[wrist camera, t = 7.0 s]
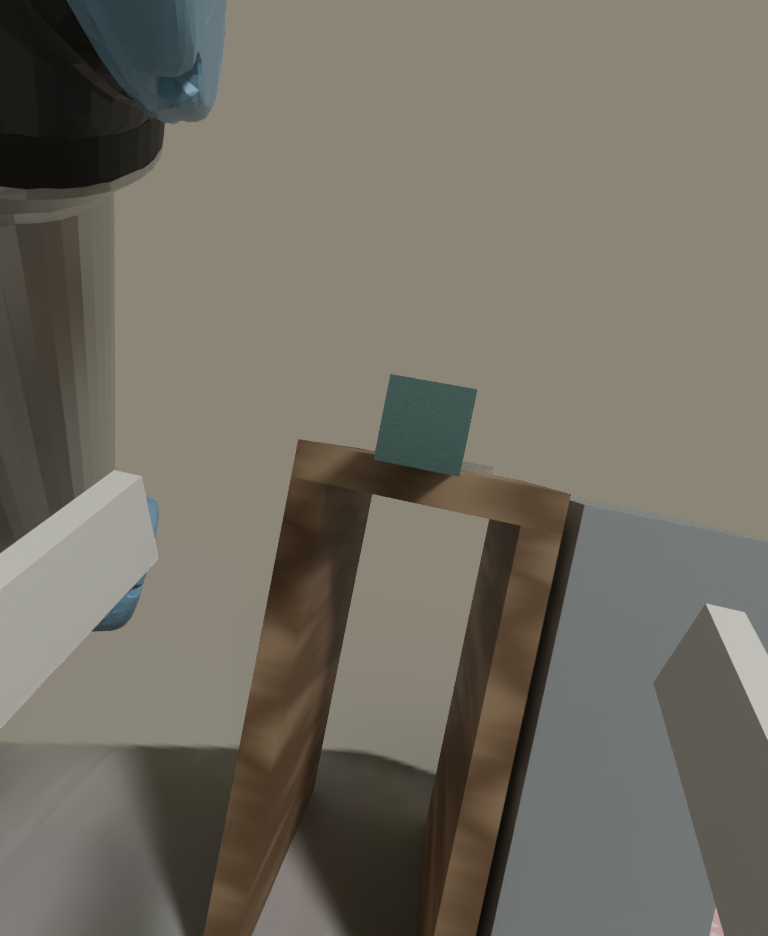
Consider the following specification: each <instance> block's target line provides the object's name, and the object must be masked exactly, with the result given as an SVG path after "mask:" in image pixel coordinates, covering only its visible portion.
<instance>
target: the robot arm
mask: <svg viewBox="0 0 768 936" xmlns="http://www.w3.org/2000/svg"><path fill="white" fill-rule="evenodd" d="M225 10H226V0H0V729H1V728H2V727H3V726H4V724H5V723H6V722H7V721H8V720H9V719H10V718H11V717H12V716H13V715H14V714H15V713H16V712H17V710H18V709H19V708H20V707H21V706H22V705H23V704H24V703H25V702H26V701H27V700H28V699H29V698H30V696H32V694H33V693H34V692H35V691H36V690H37V689H38V688H39V687H40V686H41V685H42V684H43V683H44V682H45V680H46V679H47V678H48V677H49V676H50V675H51V674H52V673H53V672H54V671H55V670H56V669H57V668H58V666H59V665H60V664H61V663H62V662H63V661H64V660H65V659H66V658H67V657H68V656H69V655H70V653H72V651H73V650H74V649H75V648H76V647H77V646H78V645H79V644H80V643H81V642H82V641H83V640H84V639H85V637H86V636H87V635H88V634H89V633H90V632H91V631H112V630H116V629H119V628H121V627H122V626H124V625H125V624H126V623H127V622H128V621H129V620H130V619H131V617H132V615H133V613H134V611H135V608H136V606H137V603H138V600H139V597H140V594H141V589H142V584H143V583H144V580H145V577H146V574H147V571H148V570H149V569H150V567H151V566H152V565H153V564H154V563H155V562H156V561H157V560H158V559H159V558H158V552H157V547H156V543H155V535H156V530H157V524H158V516H159V511H158V504H157V502H156V501H155V500H154V499H153V498H150V497H146V494H145V489H144V485H143V480H142V476H138V475H134V474H130V473H125V472H121V471H120V470H119V469H118V468H117V467H115V346H114V345H115V342H114V341H115V340H114V339H115V338H114V337H115V335H114V333H115V329H114V328H115V327H114V324H115V323H114V321H115V320H114V192H115V191H117V190H119V189H121V188H123V187H125V186H128V185H129V184H131V183H133V182H135V181H137V180H139V179H141V178H142V177H143V176H145V175H146V174H147V173H148V172H150V171H151V170H152V169H153V168H154V166H155V165H156V163H157V162H158V160H159V159H160V156H161V153H162V149H163V140H164V125H165V123H172V124H175V123H178V122H179V121H187V122H198V121H200V120H203V119H205V118H206V117H207V115H208V114H209V112H210V111H211V109H212V106H213V104H214V101H215V98H216V93H217V86H218V81H219V76H220V71H221V63H222V54H223V45H224V35H225ZM653 683H654V686H655V690H656V694H657V697H658V701H659V704H660V708H661V712H662V715H663V719H664V722H665V726H666V729H667V733H668V737H669V740H670V744H671V747H672V751H673V755H674V758H675V762H676V765H677V769H678V772H679V776H680V780H681V783H682V787H683V790H684V794H685V797H686V801H687V805H688V808H689V812H690V815H691V819H692V823H693V826H694V830H695V833H696V837H697V840H698V844H699V848H700V851H701V855H702V858H703V862H704V866H705V869H706V873H707V876H708V880H709V883H710V887H711V891H712V894H713V898H714V901H715V905H716V908H717V912H718V916H719V919H720V923H721V926H722V930H723V934H724V936H768V654H767V653H766V651H765V649H764V647H763V645H762V643H761V641H760V639H759V638H758V636H757V634H756V632H755V630H754V628H753V626H752V625H751V623H750V621H749V619H748V617H747V615H746V613H745V612H742V611H737V610H733V609H728V608H724V607H720V606H715V605H711V604H705V605H704V607H703V608H702V610H701V611H700V613H699V614H698V616H697V617H696V619H695V620H694V622H693V623H692V625H691V626H690V628H689V629H688V631H687V632H686V634H685V635H684V637H683V638H682V640H681V641H680V643H679V645H678V646H677V648H676V649H675V651H674V652H673V654H672V655H671V657H670V658H669V660H668V661H667V663H666V664H665V666H664V667H663V669H662V670H661V672H660V673H659V675H658V676H657V678H656V679H655V681H654V682H653Z"/></svg>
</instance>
